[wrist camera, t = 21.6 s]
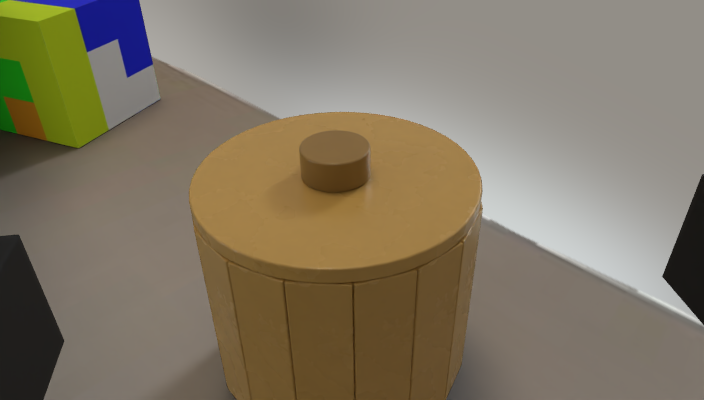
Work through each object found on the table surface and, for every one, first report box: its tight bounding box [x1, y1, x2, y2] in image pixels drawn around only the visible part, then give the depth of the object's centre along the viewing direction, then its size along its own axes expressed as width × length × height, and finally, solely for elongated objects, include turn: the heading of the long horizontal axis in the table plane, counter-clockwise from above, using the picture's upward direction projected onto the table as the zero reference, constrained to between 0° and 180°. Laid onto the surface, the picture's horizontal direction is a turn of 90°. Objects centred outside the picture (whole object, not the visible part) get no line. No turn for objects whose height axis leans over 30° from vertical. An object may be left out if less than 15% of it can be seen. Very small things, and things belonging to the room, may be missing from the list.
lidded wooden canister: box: [189, 112, 483, 400], centre depth 24 cm, size 11×11×10 cm
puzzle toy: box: [0, 0, 160, 148], centre depth 48 cm, size 10×10×10 cm
